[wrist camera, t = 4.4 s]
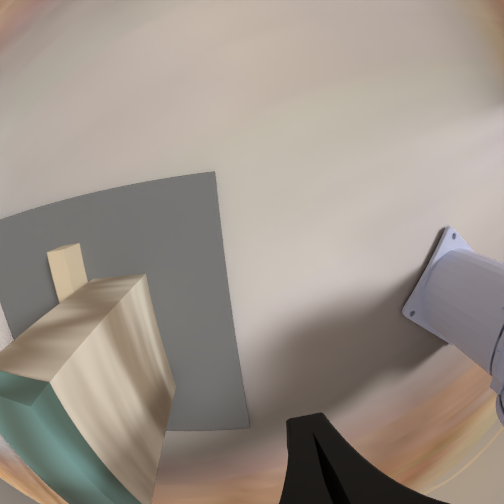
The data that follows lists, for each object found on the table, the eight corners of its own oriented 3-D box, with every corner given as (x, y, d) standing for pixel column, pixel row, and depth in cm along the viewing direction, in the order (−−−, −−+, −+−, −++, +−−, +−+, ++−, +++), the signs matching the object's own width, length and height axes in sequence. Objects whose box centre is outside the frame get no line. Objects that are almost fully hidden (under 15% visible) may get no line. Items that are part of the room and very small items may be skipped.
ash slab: (146, 272, 16) (30, 406, 4) (176, 387, 18) (148, 529, 6) (92, 278, 16) (-34, 381, 4) (128, 386, 18) (78, 511, 6)
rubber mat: (215, 172, 15) (211, 168, 13) (249, 423, 20) (251, 444, 17) (-13, 225, 14) (-32, 229, 12) (55, 411, 19) (45, 425, 16)
